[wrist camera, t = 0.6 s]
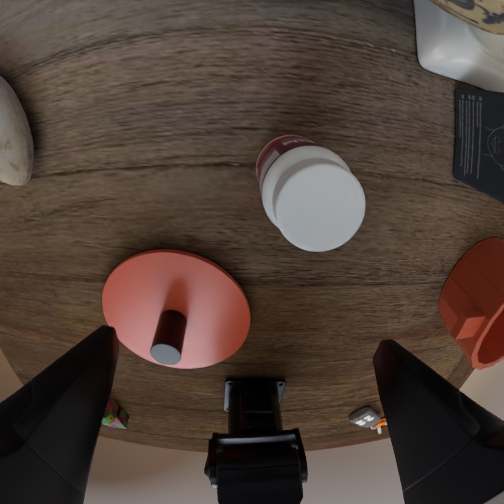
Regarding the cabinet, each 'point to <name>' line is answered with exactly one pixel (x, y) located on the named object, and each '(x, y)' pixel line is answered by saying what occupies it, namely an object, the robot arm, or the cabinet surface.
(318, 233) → the pill bottle
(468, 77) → the salad plate
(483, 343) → the pot
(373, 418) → the key chain
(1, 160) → the decorative stone
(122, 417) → the block
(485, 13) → the decorative bowl
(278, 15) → the cabinet surface
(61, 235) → the cabinet surface
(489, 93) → the box
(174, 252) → the lid
